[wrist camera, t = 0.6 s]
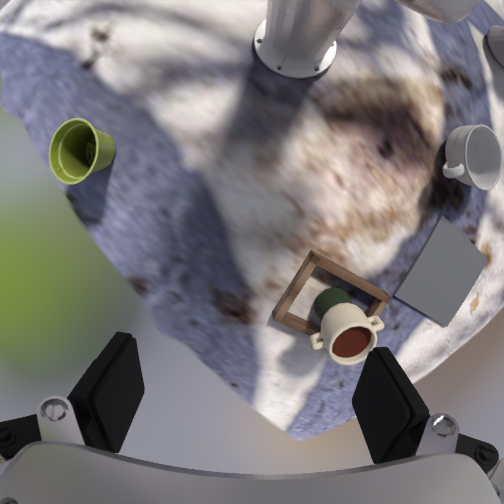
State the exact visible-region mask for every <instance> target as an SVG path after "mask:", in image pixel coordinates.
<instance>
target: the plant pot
mask: <svg viewBox="0 0 504 504" xmlns="http://www.w3.org/2000/svg"><path fill="white" fill-rule="evenodd" d="M95 139H96V140H95ZM89 152H90V156H91V160H90V159H89ZM115 153H116V145H115V142H114V140H113V138H112V137H111V136H110V135H108V134H106V133H104V132H101V131H99V130H97V129H94V127H93V126H92V125H91V124H90V123H89V122H88V121H86V120H84V119H80V118H75V119H71V120H68V121H66V122H65V123H63V124H62V125H61V126H60V127H59V128H58V129H57V131H56V132H55V134H54V136H53V138H52V140H51V143H50V148H49V163H50V167H51V170H52V172H53V174H54V175H55V177H56V178H57V179H58V180H59V181H60V182H62V183H64V184H69V185H72V184H77V183H79V182H81V181H83V180H84V179H85V178H87V177H88V175H89V174H91V173H94V172H96V171H99V170H102V169H104V168H106V167H108V166H109V165H110V164H111V162H112V160H113V158H114V156H115Z"/></svg>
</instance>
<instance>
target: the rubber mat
mask: <svg viewBox="0 0 504 504" xmlns="http://www.w3.org/2000/svg"><path fill="white" fill-rule="evenodd" d="M486 262H487V258H486V257H485V256H484V255H483V254H482V253H481V252H480V251H479V250H478V249H477V248H476V247H475V246H474V245H473V244H472V243H471V242H470V241H469V240H468V239H467V238H466V237H465V236H464V235H463V234H462V233H461V232H460V231H459V230H458V229H457V228H456V227H455V226H454V225H453V224H452V223H451V222H449V221H448V220H447V219H446V218H445V217H444V216H443V215H440V216H439V218H438V220H437V222H436V224H435V226H434V228H433V230H432V232H431V233H430V235H429V237H428V239H427V241H426V242H425V244H424V246H423V248H422V249H421V251H420V253H419V254H418V256H417V258H416V259H415V261H414V263H413V264H412V266H411V268H410V269H409V271H408V272H407V274H406V276H405V277H404V279H403V280H402V282H401V283H400V285H399V286H398V288H397V289H396V291H395V292H394V294H393V295H394V296H396V297H397V298H399V299H401V300H403V301H404V302H406V303H408V304H409V305H411V306H413V307H414V308H416V309H418V310H419V311H421V312H423V313H424V314H426V315H428V316H429V317H431V318H433V319H434V320H436V321H437V322H439V323H441V324H442V325H444V326H446V327H447V326H448V324H449V323H450V321H451V320H452V319H453V317H454V316H455V314H456V313H457V311H458V310H459V308H460V307H461V305H462V303H463V302H464V300H465V299H466V297H467V295H468V294H469V292H470V291H471V289H472V287H473V286H474V284H475V282H476V280H477V279H478V277H479V275H480V273H481V272H482V270H483V268H484V266H485V264H486Z"/></svg>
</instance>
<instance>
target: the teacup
mask: <svg viewBox="0 0 504 504" xmlns="http://www.w3.org/2000/svg"><path fill="white" fill-rule="evenodd" d="M445 155H446V162H445V165H444V166H443V174H444V176H445V177H447V178H456V179H457V180H458V181H460V182H462V183H464V184H466V185H469V186H473V187H476V188H479V189H481V190H490V189H492V188H493V187H494V186H495V185H496V184H497V182H498V180H499V178H500V175H501V171H502V163H503V162H502V150H501V146H500V143H499V140H498V139H497V136H496V135H495V133H494V132H493V131H492V130H491V129H490V128H489V127H487V126H485V125H469V126H461V127H458V128H456V129H454V130H453V131H452V132H451V133H450V135H449V137H448V139H447V142H446V147H445Z"/></svg>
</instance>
